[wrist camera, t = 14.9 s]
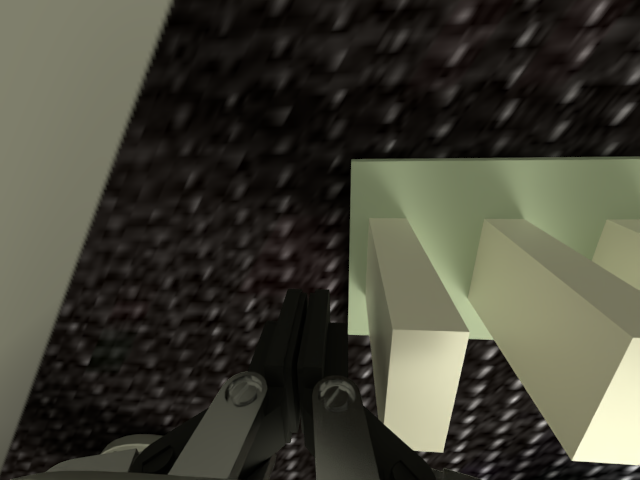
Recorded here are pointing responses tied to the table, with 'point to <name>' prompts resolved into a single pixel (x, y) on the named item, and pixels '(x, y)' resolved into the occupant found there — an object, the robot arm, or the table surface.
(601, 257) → the domino
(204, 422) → the robot arm
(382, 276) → the domino
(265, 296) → the table surface
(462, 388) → the table surface
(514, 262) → the domino
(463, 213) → the board
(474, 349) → the table surface
